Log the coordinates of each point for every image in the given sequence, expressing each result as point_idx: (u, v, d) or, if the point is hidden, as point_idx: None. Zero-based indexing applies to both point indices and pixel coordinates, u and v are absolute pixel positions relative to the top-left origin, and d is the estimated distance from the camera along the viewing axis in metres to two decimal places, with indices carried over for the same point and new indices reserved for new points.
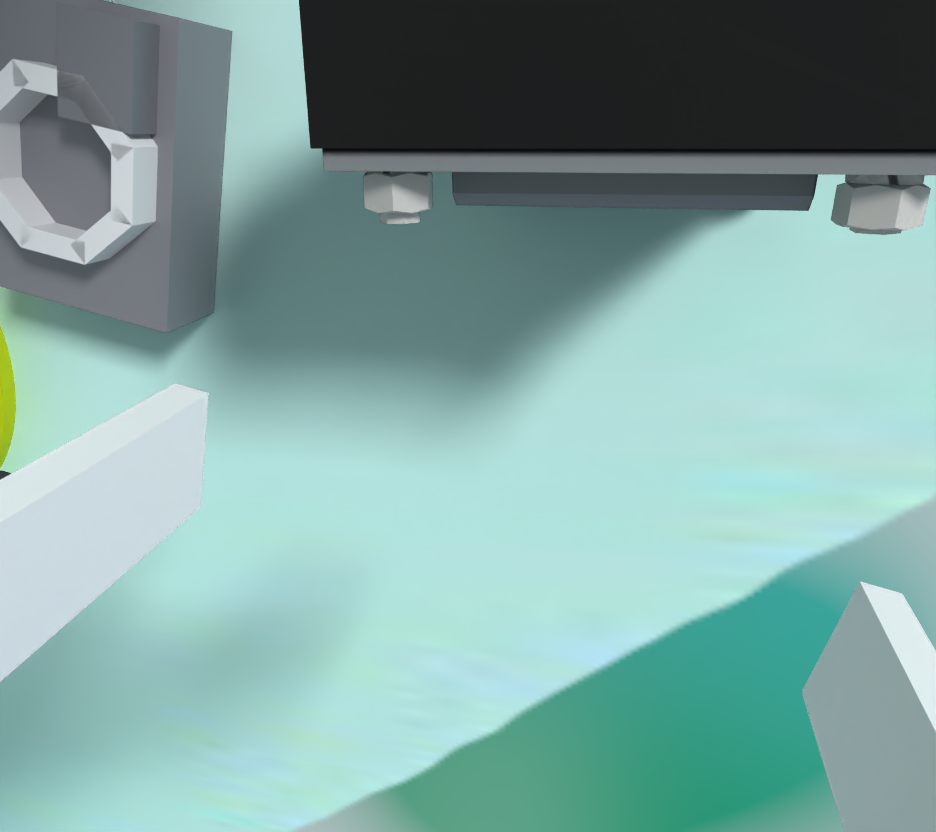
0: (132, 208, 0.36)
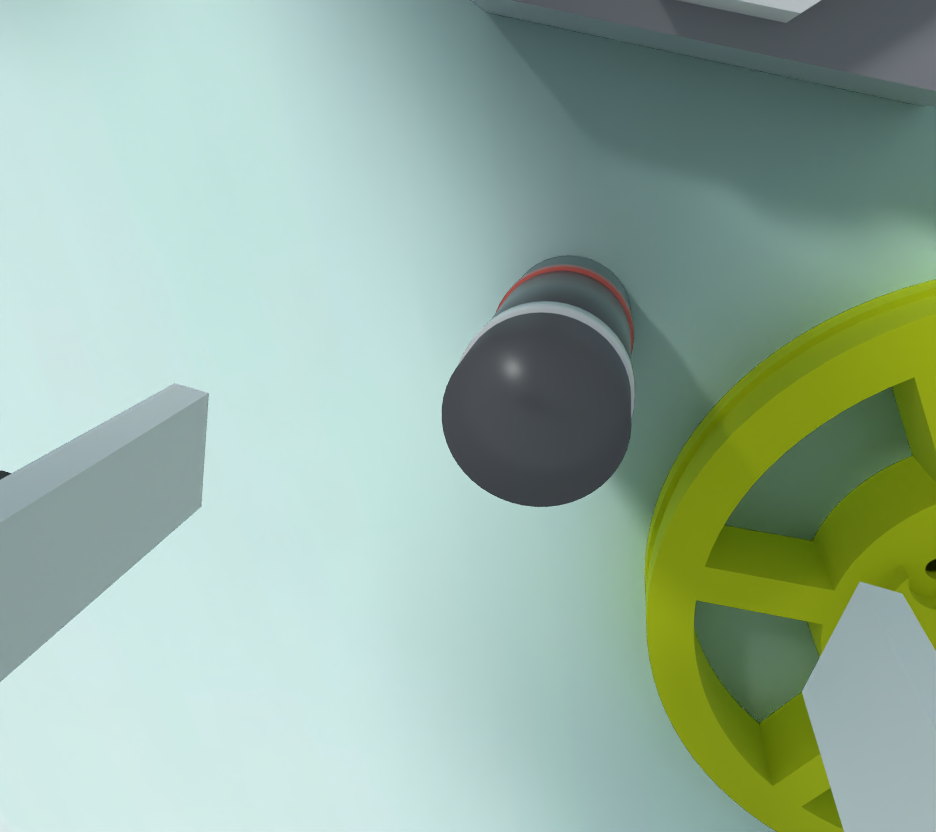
0: None
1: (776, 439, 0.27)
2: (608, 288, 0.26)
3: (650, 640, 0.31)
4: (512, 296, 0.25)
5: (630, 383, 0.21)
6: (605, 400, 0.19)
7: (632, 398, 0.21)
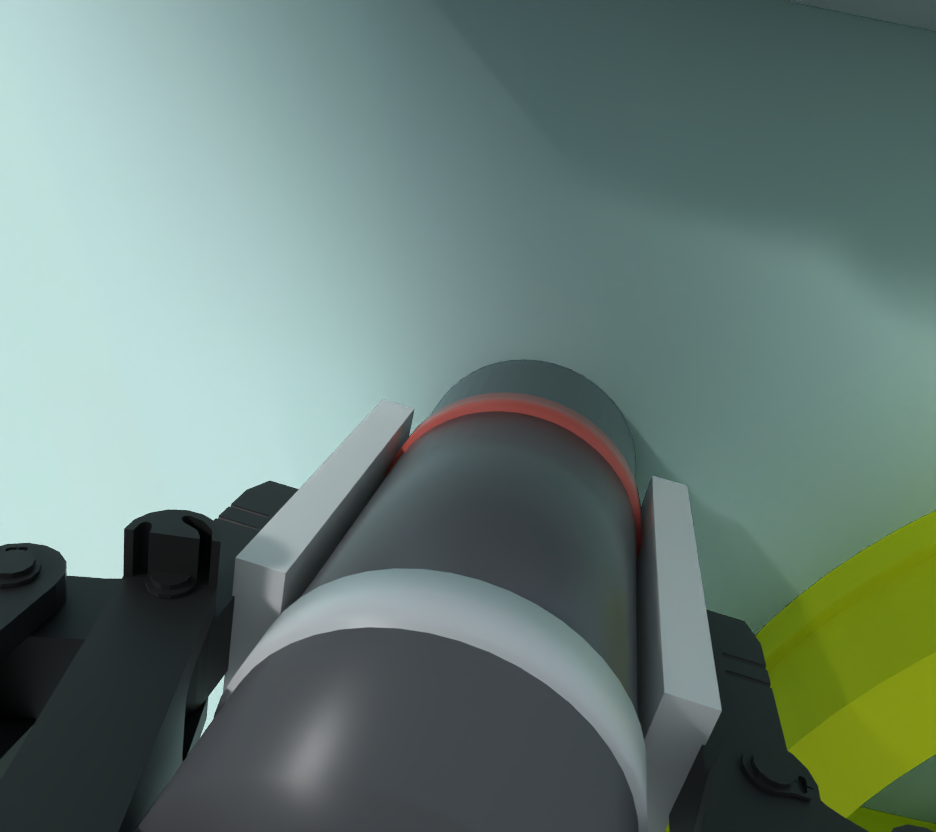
0: None
1: (917, 733, 0.14)
2: (592, 448, 0.14)
3: None
4: (391, 483, 0.12)
5: (637, 809, 0.08)
6: None
7: None
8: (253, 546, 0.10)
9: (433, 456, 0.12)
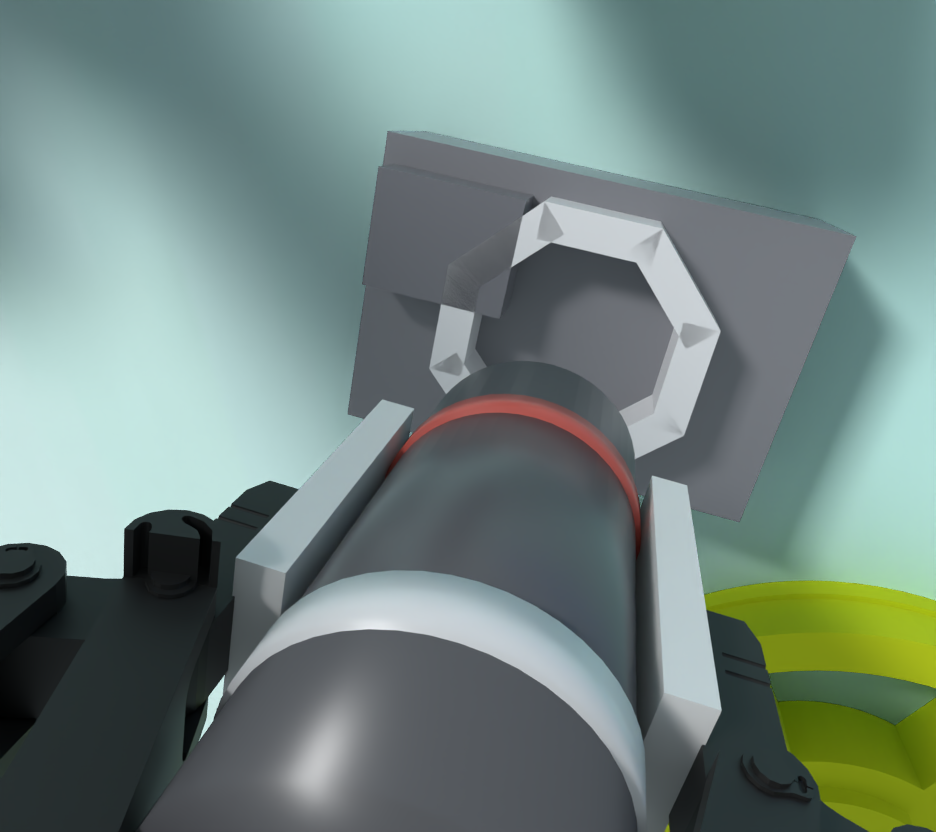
0: (635, 222, 0.23)
1: None
2: (592, 450, 0.14)
3: None
4: (391, 484, 0.12)
5: (636, 810, 0.08)
6: None
7: None
8: (253, 546, 0.10)
9: (433, 457, 0.12)
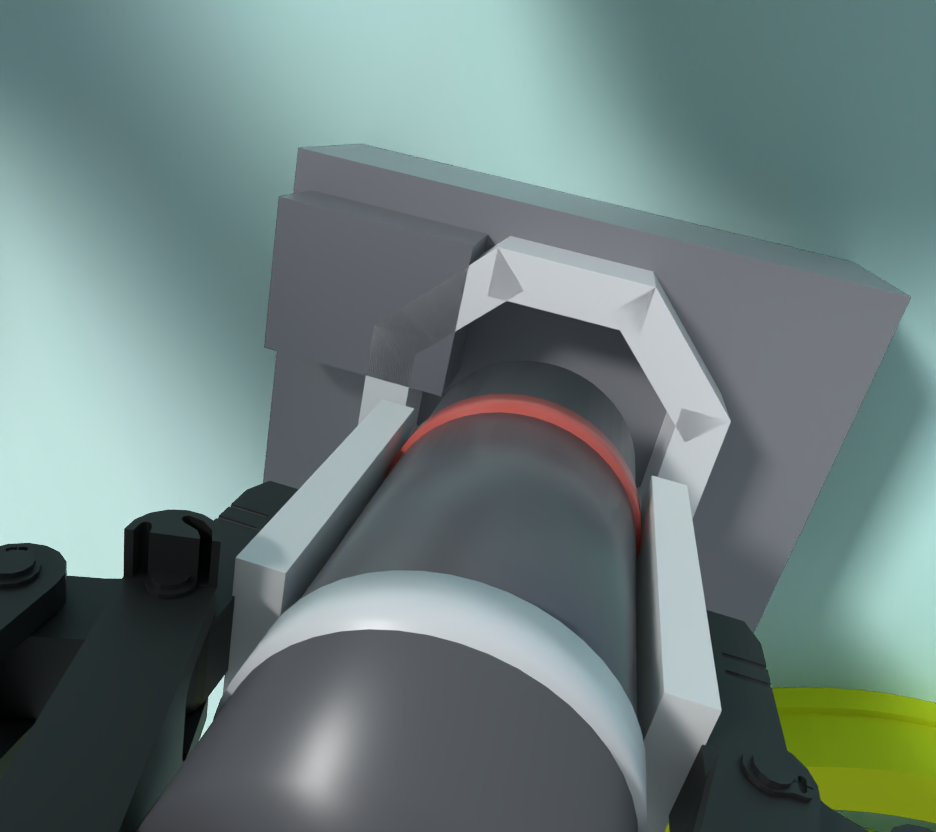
0: (618, 278, 0.17)
1: None
2: (592, 449, 0.14)
3: None
4: (391, 484, 0.12)
5: (636, 811, 0.08)
6: None
7: None
8: (253, 546, 0.10)
9: (433, 457, 0.12)
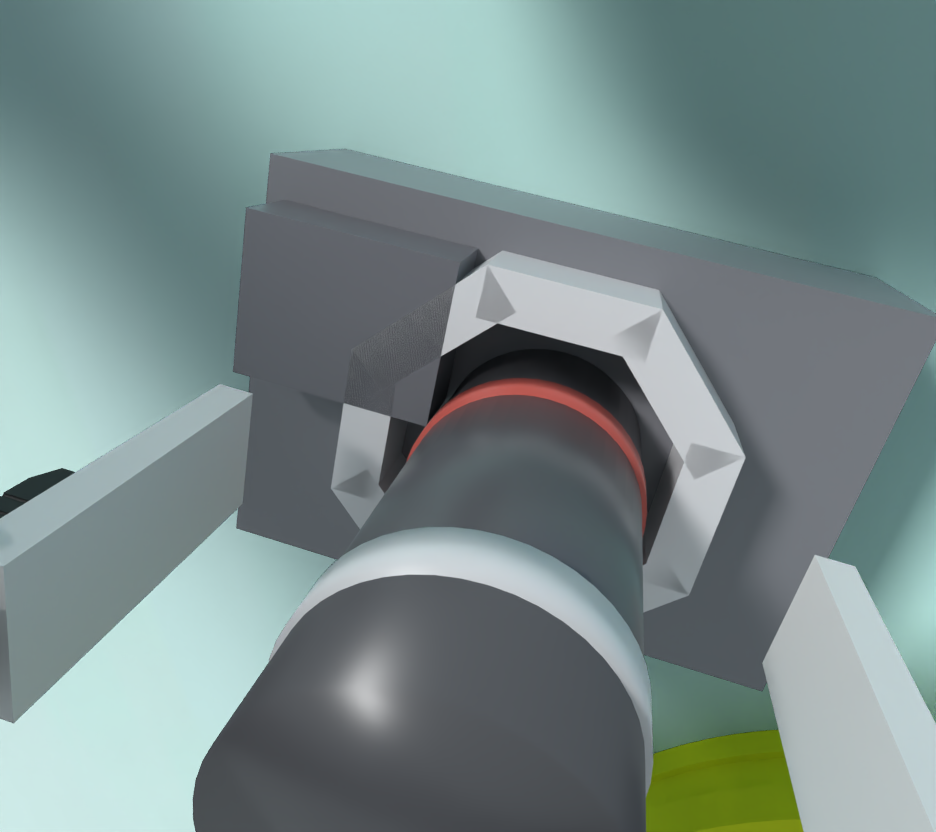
0: (621, 299, 0.15)
1: None
2: (601, 428, 0.15)
3: None
4: (418, 459, 0.13)
5: (643, 732, 0.09)
6: None
7: (648, 761, 0.09)
8: None
9: (455, 435, 0.13)
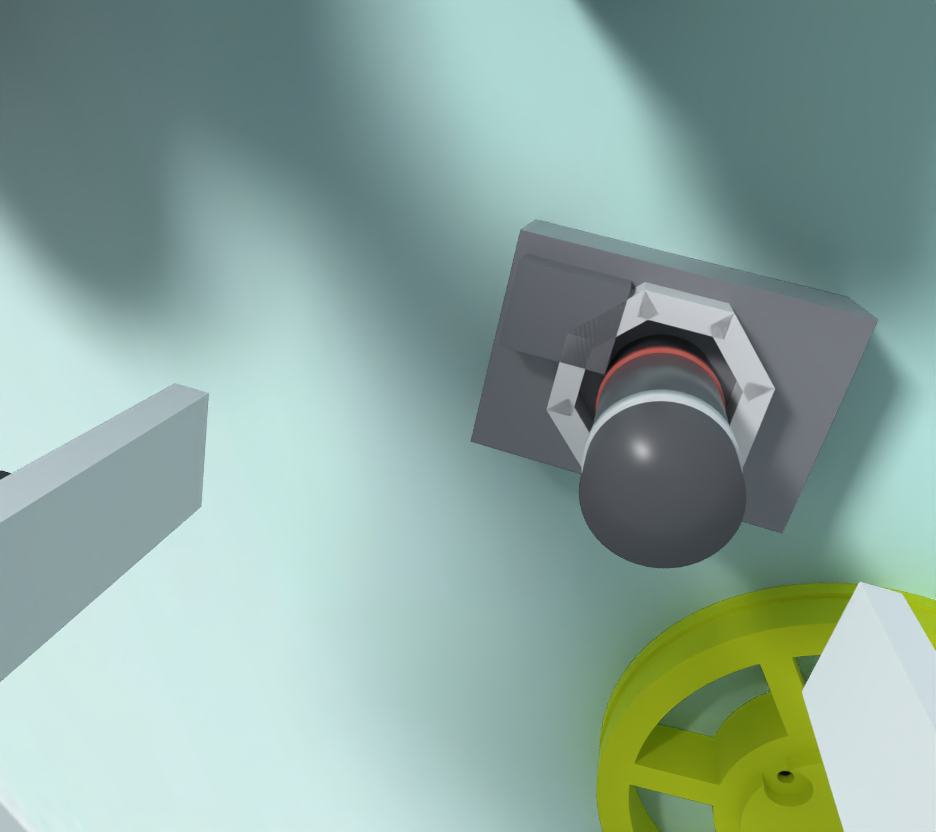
0: (713, 307, 0.31)
1: (677, 691, 0.41)
2: (703, 368, 0.30)
3: (600, 807, 0.45)
4: (622, 378, 0.29)
5: (739, 461, 0.24)
6: (723, 480, 0.23)
7: None
8: None
9: (638, 367, 0.29)
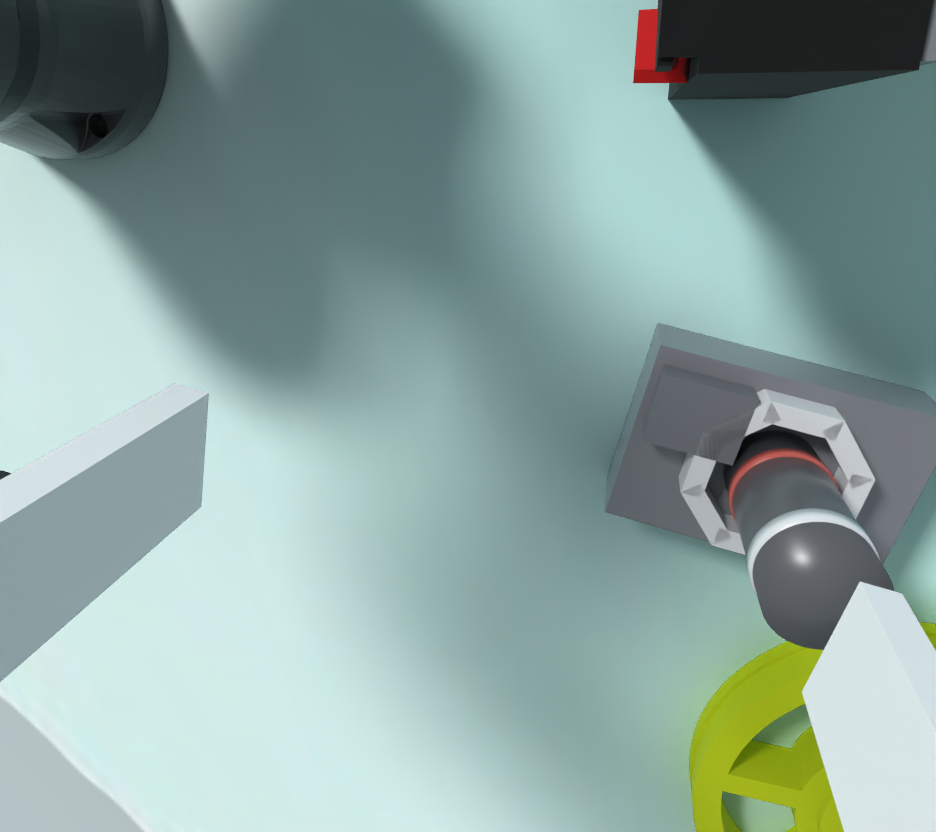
0: (827, 416, 0.38)
1: (768, 714, 0.49)
2: (823, 469, 0.37)
3: (695, 810, 0.53)
4: (764, 485, 0.36)
5: None
6: None
7: None
8: None
9: (776, 475, 0.36)
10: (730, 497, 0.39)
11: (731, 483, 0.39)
